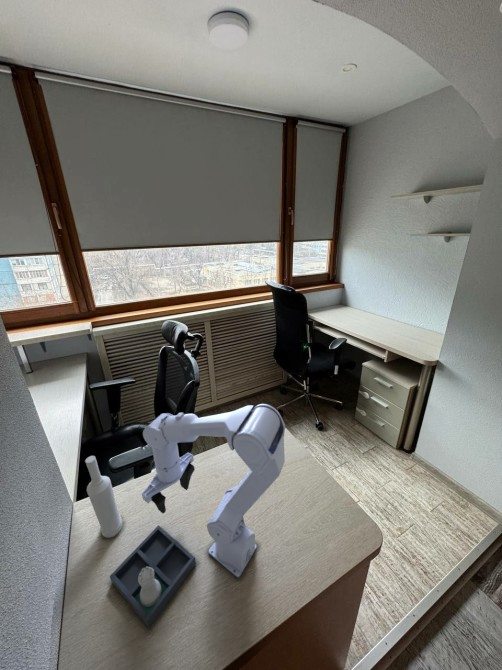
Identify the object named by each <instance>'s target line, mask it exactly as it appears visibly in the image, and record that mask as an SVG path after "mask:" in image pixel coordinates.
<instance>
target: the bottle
mask: <svg viewBox="0 0 502 670" xmlns="http://www.w3.org/2000/svg"><path fill="white" fill-rule="evenodd" d="M84 462H85V464H86V467H87V470H88V472H89V473H88V474H89V476H90V478H91V481H90V482H89V483H88V485H87V486H86V493H87V495H88V498H89V501H90V503H91V506H92V508H93V510H94V513H95V516H96V518H97V521H98V524H99V527H100V529H99V531H100V533H101V534H102V536H103V537H105V538H106V539H110V538H113V537H116V535H118V534H119V533H120V531H121V530H122V527H123V519H122V517H121V515H120V511H119V509H118V505H117V500H116V498H115V493H114V489H113V485H112V481H111V479H110V477H109V476H107V475H101V471H100V469H99V465H98V461H97V458H96V456H95V455H90V456H88V457H87V458H86V459H85V460H84Z"/></svg>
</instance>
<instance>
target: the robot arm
mask: <svg viewBox="0 0 502 670" xmlns="http://www.w3.org/2000/svg"><path fill="white" fill-rule="evenodd" d="M285 432H286V424H285V421H284V420H283V417H282V415H281V414H280V412H279V411H278V410H277V409H276V408H275V407H274V406H272V405H270V404H267V403H260V404H257V405H255V406H254V405H246V406H243V407H240V408H237V409H235V410H232V411H229V412H228V411H227V412H222V413H218V414H213V415H208V416H207V415H206V416H202V417H198V415H197V414H194V413H184V412H178V413H177V414H176V415H173V414H171V413H169V412H166V413H160V415H158V416H157V417H156V418H154V420H153V421H152V422H151V423H149V424H148V425H147V426H146V427H145V428H144V429H143V431H142V437H143V439H144V441H145V442H146V444H147V445H148V446H149V447H151V451H152V456H153V462H154V468H155V472H156V473H155V475H154V476H153V478H152V479H151V481H150V483H149V484H148V485H147V487H146V488H145V489H144V491H143V492H142V493H141V497H142V499H143V501H145V502H146V503H147V504H150V503H151V502H153V503H154V505H155V506H156V508H157V510H158V511H159V512H160V513H161V514H163V515H164V514H165V513H166V511H167V508H166V498H167V497H166V496H165V495H164V494H162V491H164V490H165V489H167V488H169V487H171V486H173V485H175V484H176V483H178V482H179V484H180V487H181V488H182V489H184V490H185V491H187V490H188V489H189V487H190V483H191V482H190V481H191V478H192V476H193V473H194V472H195V469H196V468H195V466H194V465H193V464H192V463H193V462H194V461H195V458H194V454H191V453H190V452H187V453H185V454H183V455H182V456H180V453H179V446H178V444H179V443H192V442H195V441H196V440H197V439H198V438H199V437H222V438H223V437H225V438H226V442H227V445H228V447H229V449H230V450H231V451H235V453H236V454H237V456H238V457H239V458H240V459H241V460H242V461H243V463H244V464H245V465H246V466H247V468H249V470H248V471H247V473H246V474H245V475H244V476H243V477H242V478H241V480H240V481H239V483H238V484H237V485H235V486H233V487H232V488H228V489H227V490H225V492H224V495H223V498H222V499H221V501H220V502H219V504H218V506H217V508H216V510H215V512H214V513H213V515H212V517H211V519H210V520H209V521H208V522H207V524H206V529H207V532H208V534H209V536H210V537H211V538H212V540H214V542H213V543H212V545H211V546H210V548H209V549H208V554H209V555H210V556H211V557H212V558H214V559H215V560H216V561H217V562H218V563H219V564H221V565H222V566H223V567H225V569H227V570H228V571H229V572H230V573H231V574H233V575H234V576H235V577H236V578H240V577H241V576H242V573H244V570H245V568H246V566H247V565H248V564H249V562H250V560H251V558H252V556H253V555H254V553H255V552H256V549H257V547H258V546H257V544H256V534H255V533H254V532H253V531H252V530H250V529H249V527H248V526H247V524H246V523H245V519H244V515H245V514H246V513H247V512H248V511H249V510H250V509H251V508H252V507H253V505H254V504H255V503H256V502H257V501H258V500H259V499H260V498H261V496H262V495H263V494H264V493H265V492H266V491H267V490H268V489H269V488H270V487H271V485H273V483H275V481H276V480H277V479H278V478H279V476H280V474H281V472H282V471H283V467H284V464H285V462H286V461H285V434H286V433H285Z"/></svg>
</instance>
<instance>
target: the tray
mask: <svg viewBox="0 0 502 670" xmlns="http://www.w3.org/2000/svg"><path fill="white" fill-rule="evenodd" d="M196 565H197V563H196V557H195V556H194V555H193V554H192V553H191V552H190V551H189V550H188V549H186V547H184V546H183V545H182V544H180V542H178V541H177V539H175V538H174V537H173V536H172V535H171V534H170V533H168V532H167V531H166V530H165V529H164V528H162V527H161V526H160V525H157V526H156V527H155V528H154V529H153V530H152V531H151V532H150V533H149V534H148V535H147V536H146V538H144V539H143V540H142V542H141V543H140V544H139V545H138V546H137V547H136V548H135V549H134V550H133V551H132V552H131V553H130V554H129V555H128V556H127V557H126V559H124V560H123V562H121V564H120V565H118V566H117V568H115V570H114V571H113V572H112V573H111V574H110V575H109V578H110V582H111V584H112V585H113V586H114V587H115V588H116V590H117V591H118V592H119V594H120V595H121V596H122V597H123V599H124V600H125V601H126V602H127V603H128V604H129V606H130V607H131V608H132V610H133V611H134V612H135V613H136V614H137V616H138V617H139V618H140V619H141V620H142V622H143V623H144V624H145V626H146V627H147V628H148V629H149V628H150V627H151V626H152V624H153V623H154V622H155V620H156V619H157V618H158V616H159V615H160V613H161V612H162V611H163V609H164V608H165V607H166V606H167V604H168V603H169V601H170V600H171V599H172V597H173V596H174V594H175V593H176V592H177V590H178V589H179V588H180V586H181V585H182V584H183V582H184V581H185V580H186V578H187V577H188V575H189V574H190V573H191V571H192V570H193V568H194V567H195V566H196ZM146 566H148V567H152V568H153V569H154V573H155V574H154V579H156V580H158V581H159V583H160V585H161V588H162V591H161V596H160V598H159V600H158V601H157V602H156V603H155V604H154V605H152V606H150V607H145V606H143V605H142V603H141V601H140V592H141V588H142V587H141V585H140V584H139V583H138V576H139V574H140V572H141V570H142V569H143V568H146Z"/></svg>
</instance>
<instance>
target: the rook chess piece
mask: <svg viewBox="0 0 502 670" xmlns="http://www.w3.org/2000/svg"><path fill="white" fill-rule="evenodd" d="M154 574H155V573H154V569H153V568H152V567H148V566H146V568H143V569H142V570H141V572H140V574H139V576H138V583H139V584H140V585H141V587H142V588H141V592H140V601H141V603H142V605H143V606H145V607H150V606H152V605H154V604H155V603H156V602H157V601H158V600H159V598H160V596H161V591H162V588H161V585H160V583H159V581H158V580H156V579H154Z"/></svg>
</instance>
